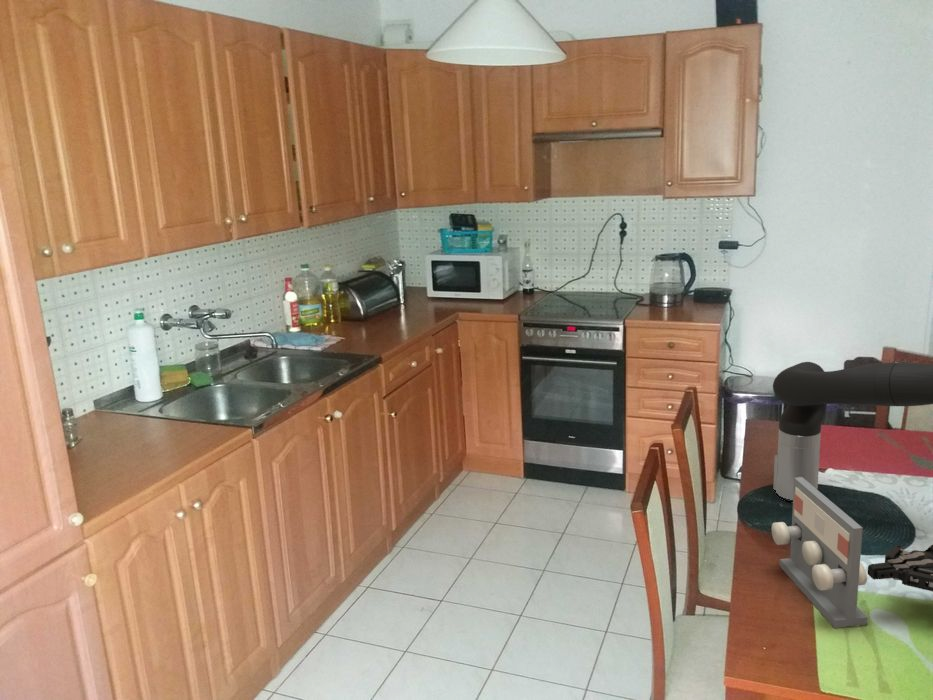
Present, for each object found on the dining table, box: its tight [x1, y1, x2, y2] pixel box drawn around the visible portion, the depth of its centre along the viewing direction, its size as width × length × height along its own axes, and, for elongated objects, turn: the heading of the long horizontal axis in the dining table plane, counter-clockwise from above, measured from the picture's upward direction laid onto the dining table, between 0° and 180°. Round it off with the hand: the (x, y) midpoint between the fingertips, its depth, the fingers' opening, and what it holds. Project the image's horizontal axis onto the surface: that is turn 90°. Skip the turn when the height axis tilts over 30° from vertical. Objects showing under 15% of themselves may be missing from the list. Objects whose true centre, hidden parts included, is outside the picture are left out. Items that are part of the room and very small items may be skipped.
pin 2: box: [812, 562, 868, 590], centre depth 136 cm, size 8×4×4 cm, turn 94°
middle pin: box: [802, 541, 823, 565], centre depth 144 cm, size 8×4×4 cm, turn 94°
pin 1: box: [771, 521, 802, 546], centre depth 151 cm, size 8×4×4 cm, turn 94°
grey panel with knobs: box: [778, 477, 868, 629], centre depth 143 cm, size 6×21×20 cm, turn 4°
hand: (870, 572), depth 136 cm, fingers closed
